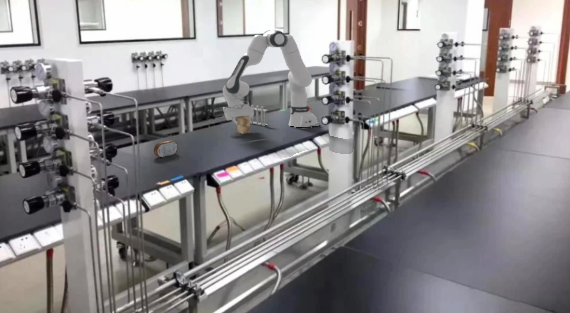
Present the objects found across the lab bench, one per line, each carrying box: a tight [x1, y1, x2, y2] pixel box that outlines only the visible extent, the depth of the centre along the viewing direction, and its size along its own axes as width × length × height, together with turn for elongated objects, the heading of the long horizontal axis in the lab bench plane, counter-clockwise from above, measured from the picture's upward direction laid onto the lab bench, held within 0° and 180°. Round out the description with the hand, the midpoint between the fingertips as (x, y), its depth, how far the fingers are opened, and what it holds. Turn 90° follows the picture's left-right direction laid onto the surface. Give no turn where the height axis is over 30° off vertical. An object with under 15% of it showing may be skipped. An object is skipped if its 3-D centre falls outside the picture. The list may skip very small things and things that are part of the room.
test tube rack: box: [250, 104, 269, 127], centre depth 366 cm, size 25×4×13 cm, turn 53°
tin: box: [153, 139, 179, 158], centre depth 281 cm, size 15×3×8 cm, turn 141°
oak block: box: [236, 116, 251, 135], centre depth 334 cm, size 6×6×10 cm
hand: (243, 123), depth 334 cm, fingers open, 8 cm apart
